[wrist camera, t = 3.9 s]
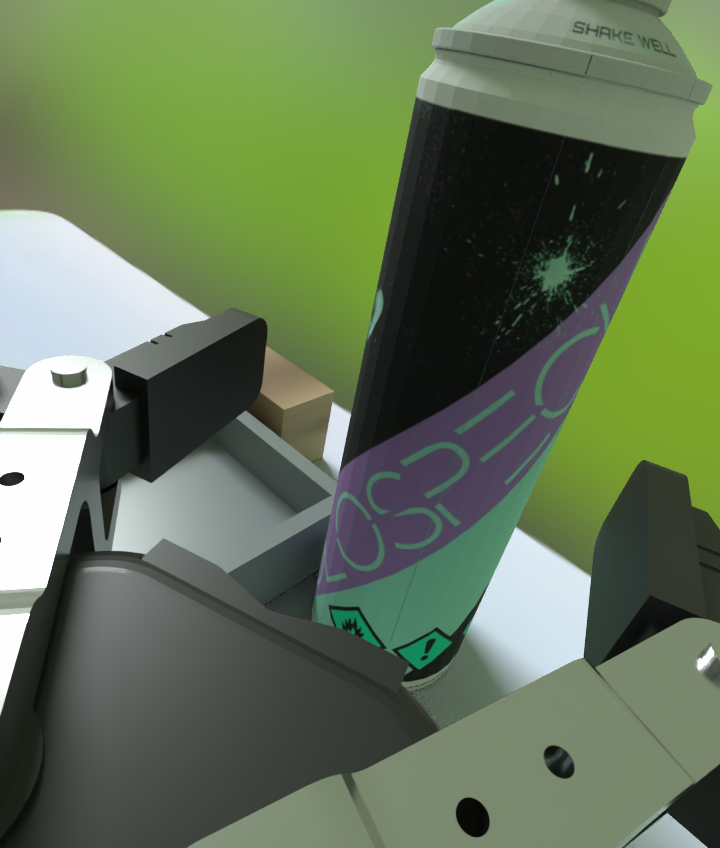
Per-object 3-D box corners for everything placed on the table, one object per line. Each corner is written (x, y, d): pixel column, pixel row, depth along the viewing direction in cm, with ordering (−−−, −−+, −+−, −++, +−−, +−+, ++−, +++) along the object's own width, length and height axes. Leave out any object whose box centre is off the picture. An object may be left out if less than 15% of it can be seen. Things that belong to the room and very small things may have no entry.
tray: (-38, 511, 21) (-57, 449, 19) (200, 427, 28) (202, 376, 26) (91, 719, 16) (80, 657, 14) (344, 552, 23) (357, 498, 21)
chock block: (213, 428, 28) (216, 359, 26) (260, 411, 30) (266, 345, 28) (275, 481, 26) (284, 409, 24) (322, 458, 28) (334, 391, 26)
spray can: (279, 609, 20) (399, -169, 9) (381, 544, 24) (556, -70, 13) (388, 728, 17) (759, -197, 6) (485, 634, 21) (830, -58, 10)
